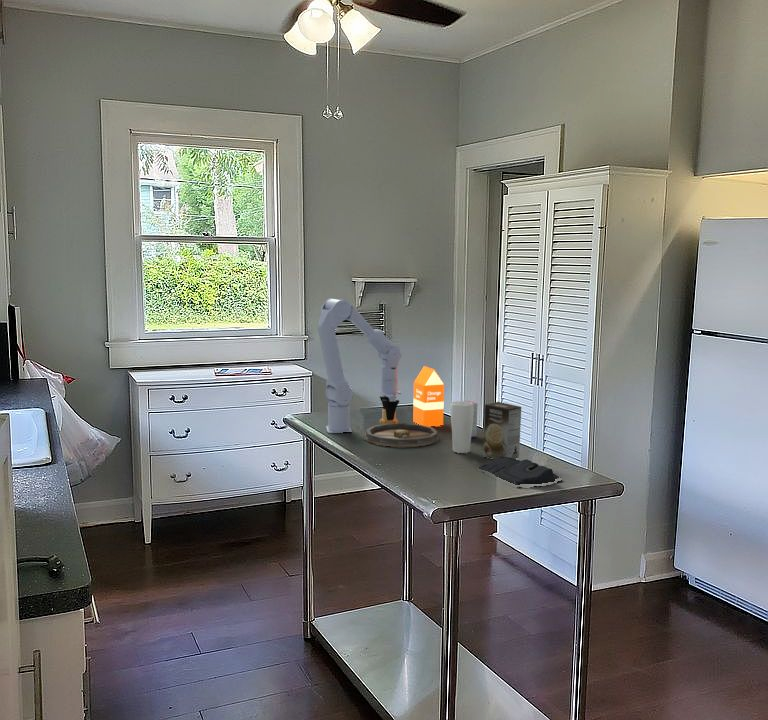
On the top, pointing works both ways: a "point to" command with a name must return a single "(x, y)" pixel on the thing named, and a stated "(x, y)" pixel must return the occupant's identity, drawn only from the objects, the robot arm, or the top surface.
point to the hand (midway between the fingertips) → (389, 418)
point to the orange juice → (428, 398)
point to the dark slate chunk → (519, 471)
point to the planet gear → (384, 418)
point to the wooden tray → (401, 435)
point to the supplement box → (474, 421)
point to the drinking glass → (462, 425)
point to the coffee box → (502, 430)
